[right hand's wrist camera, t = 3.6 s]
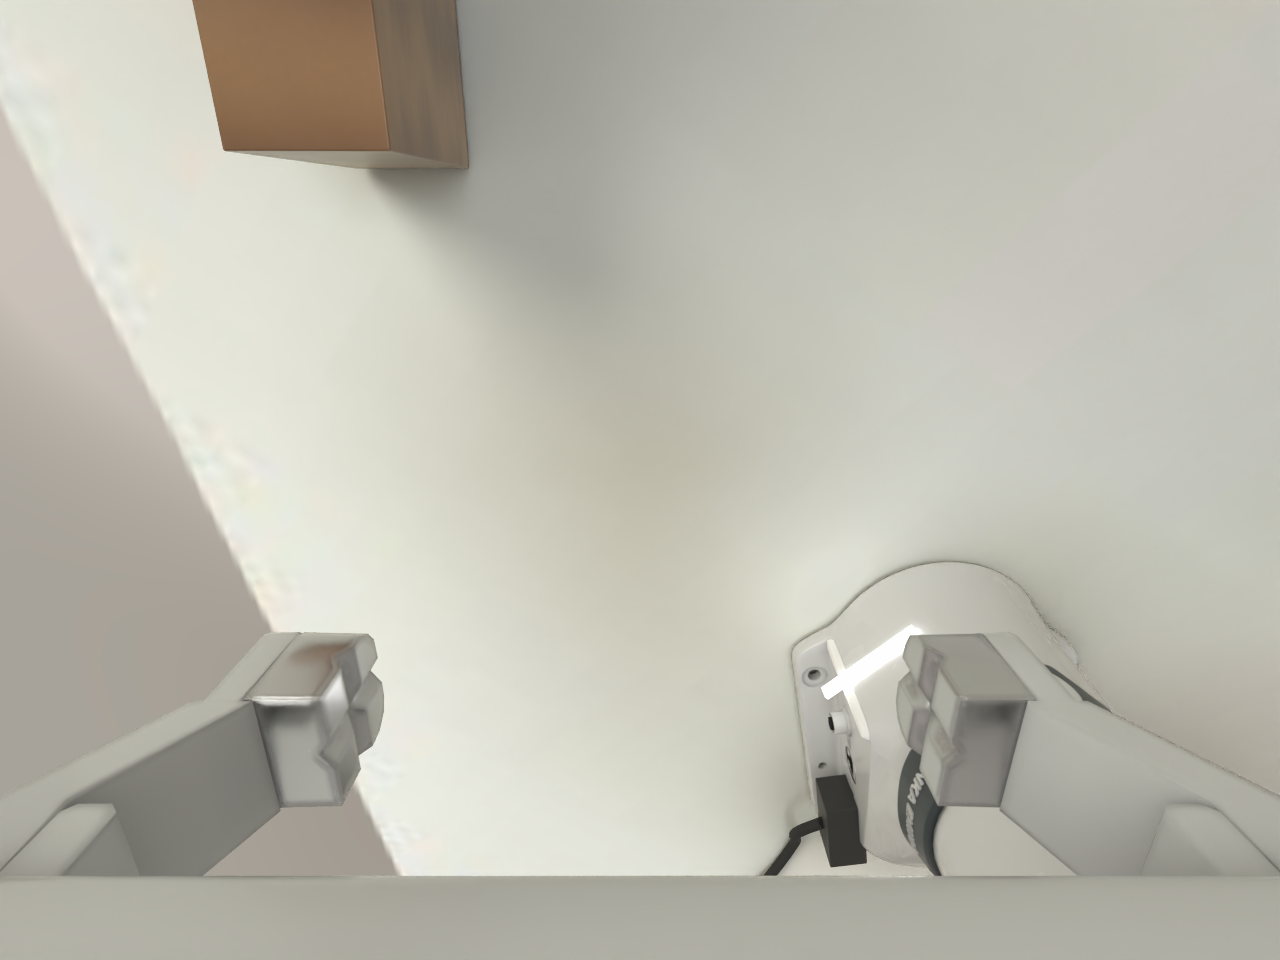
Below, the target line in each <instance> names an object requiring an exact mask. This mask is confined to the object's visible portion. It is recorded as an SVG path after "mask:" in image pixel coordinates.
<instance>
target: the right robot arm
mask: <svg viewBox="0 0 1280 960" xmlns="http://www.w3.org/2000/svg"><path fill="white" fill-rule="evenodd" d="M377 658H378V657H377V652H376V648H375V643H374V639H373V638H372V637H371V636H370V635H369V634H352V633H300V632H272V633H268V634H265V635H262V637H261V638H260V639H259V640H258V641H257V642H256V643H255V644H254V645H253V647H251V649H250V650H249V651H248V652H247V653H246V654H245V655H244V656H243V657H242V659H241V660H240V661H239V662H238V663H237V664H236V665H235V666H234V668H233V669H232V670H231V671H230V672H229V673H228V674H227V675H226V676H225V677H224V678H223V680H222V681H221V682H220V683H219V684H218V685H217V686H216V687H215V688H214V690H213V691H212V692H211V693H210V694H209V695H208V696H207V697H206V698H205V700H204V701H191V702H189V703H187V704H185V705H183V706H181V707H179V708H177V709H175V710H173V711H171V712H169V713H167V714H165V715H163V716H161V717H159V718H157V719H155V720H153V721H151V722H149V723H147V724H145V725H143V726H141V727H139V728H137V729H135V730H132V731H130V732H129V733H126V734H124V735H122V736H120V737H118V738H116V739H114V740H112V741H110V742H108V743H106V744H104V745H102V746H100V747H98V748H96V749H94V750H92V751H90V752H88V753H86V754H84V755H82V756H80V757H78V758H76V759H74V760H72V761H70V762H68V763H66V764H64V765H62V766H60V767H58V768H56V769H54V770H52V771H50V772H47V773H46V774H43V775H41V776H39V777H37V778H35V779H33V780H31V781H29V782H27V783H25V784H23V785H21V786H19V787H17V788H15V789H13V790H11V791H9V792H7V793H5V794H3V795H1V796H0V960H1280V796H1279V795H1277V794H1275V793H1273V792H1271V791H1268V790H1266V789H1264V788H1262V787H1260V786H1258V785H1256V784H1254V783H1252V782H1250V781H1248V780H1246V779H1244V778H1242V777H1240V776H1238V775H1236V774H1234V773H1232V772H1230V771H1228V770H1226V769H1224V768H1222V767H1220V766H1218V765H1216V764H1214V763H1212V762H1210V761H1208V760H1206V759H1204V758H1202V757H1200V756H1198V755H1196V754H1194V753H1192V752H1190V751H1188V750H1186V749H1184V748H1182V747H1180V746H1178V745H1176V744H1174V743H1172V742H1170V741H1168V740H1166V739H1163V738H1161V737H1159V736H1157V735H1155V734H1153V733H1151V732H1149V731H1147V730H1145V729H1143V728H1141V727H1139V726H1137V725H1135V724H1133V723H1131V722H1129V721H1127V720H1125V719H1123V718H1121V717H1119V716H1117V715H1115V714H1113V713H1112V712H1111V711H1110V709H1109V708H1108V707H1107V705H1106V704H1105V703H1104V701H1103V700H1102V699H1101V697H1100V696H1099V695H1098V693H1097V692H1096V691H1095V689H1094V688H1093V687H1092V685H1091V684H1090V683H1089V681H1088V680H1087V679H1086V677H1085V676H1084V675H1083V674H1082V672H1081V671H1080V670H1079V668H1078V667H1077V663H1078V655H1077V653H1076V652H1075V650H1074V649H1073V648H1072V646H1071V645H1070V644H1069V642H1068V641H1067V640H1066V639H1064V638H1063V637H1062V636H1061V635H1059V634H1058V633H1056V632H1055V631H1053V630H1051V629H1050V628H1048V627H1047V626H1046V625H1045V624H1044V622H1043V621H1042V619H1041V618H1040V616H1039V614H1038V612H1037V611H1036V609H1035V607H1034V605H1033V603H1032V602H1031V600H1030V599H1029V597H1028V596H1027V595H1026V593H1025V592H1024V591H1023V590H1022V589H1021V588H1020V587H1019V586H1018V585H1017V584H1016V583H1015V582H1013V581H1012V580H1011V579H1009V578H1008V577H1006V576H1004V575H1003V574H1001V573H999V572H997V571H995V570H992V569H990V568H987V567H983V566H980V565H976V564H970V563H963V562H937V563H929V564H923V565H919V566H915V567H911V568H908V569H905V570H902V571H900V572H897V573H895V574H892V575H890V576H888V577H886V578H884V579H883V580H881V581H879V582H877V583H876V584H874V585H873V586H871V587H870V588H868V589H867V590H866V591H864V592H863V593H862V594H861V595H860V596H858V597H857V598H856V599H855V600H854V601H853V602H852V603H851V604H850V605H849V606H848V607H847V608H846V610H845V611H844V612H843V613H842V614H841V615H840V616H839V617H838V618H837V619H836V620H835V621H834V622H833V623H832V624H830V625H829V626H827V627H825V628H823V629H821V630H819V631H818V632H816V633H814V634H812V635H810V636H808V637H807V638H805V639H803V640H802V641H800V642H799V643H798V644H797V645H796V646H795V647H794V649H793V651H792V666H793V673H794V680H795V688H796V695H797V703H798V710H799V717H800V725H801V732H802V740H803V747H804V754H805V762H806V769H807V777H808V784H809V791H810V798H811V801H812V804H813V807H814V809H815V811H816V813H817V814H818V815H819V817H818V818H816V819H813V820H811V821H808V822H805V823H803V824H800V825H798V826H796V827H794V828H793V829H792V830H791V832H790V833H789V834H790V838H791V839H790V841H789V842H788V844H787V845H786V847H785V848H784V850H783V851H782V853H781V854H780V855H779V857H778V858H777V859H776V861H775V862H774V863H773V864H772V866H771V867H770V868H769V869H768V871H767V872H766V873H765V874H764V875H763V876H203V875H204V874H205V873H206V872H208V871H209V870H210V869H211V868H212V867H214V866H215V865H216V864H217V863H218V862H220V861H221V860H222V859H223V858H224V857H226V856H227V855H228V854H229V853H230V852H232V851H233V850H234V849H235V848H236V847H238V846H239V845H240V844H241V843H242V842H244V841H245V840H246V839H247V838H248V837H250V836H251V835H252V834H253V833H254V832H256V831H257V830H258V829H259V828H260V827H262V826H263V825H264V824H265V823H266V822H268V821H269V820H270V819H271V818H272V817H274V816H275V815H276V814H277V813H278V812H280V808H283V807H317V806H342V805H343V803H344V801H345V799H346V797H347V795H348V793H349V791H350V789H351V787H352V785H353V783H354V781H355V779H356V777H357V775H358V773H359V772H360V770H361V768H360V762H359V757H358V756H359V755H360V754H361V753H363V752H364V751H366V750H367V749H369V748H370V747H371V746H373V744H374V741H375V739H376V737H377V735H378V733H379V731H380V726H381V722H382V717H383V713H384V693H383V687H382V682H381V681H380V680H379V679H378V678H377V677H376V676H375V675H374V674H373V673H372V672H371V671H370V670H371V668H372V667H373V665H374V663H375V661H376V660H377ZM812 670H817V671H816V672H815V673H812V674H810V673H809V672H810V671H812ZM818 830H820V833H821V837H822V840H823V843H824V847H825V850H826V854H827V857H828V860H829V864H830V866H831V867H838V866H847V865H856V864H864V863H867V857H866V850H867V851H869V852H870V853H871V854H873V855H874V856H876V857H878V858H880V859H882V860H885V861H888V862H891V863H895V864H899V865H903V866H910V867H919V868H928V869H929V870H930V871H931V872H932V873H933V875H934V876H777V875H778V873H779V872H780V871H781V870H782V868H783V867H784V866H785V864H786V863H787V862H788V860H789V859H790V858H791V856H792V855H793V853H794V852H795V850H796V849H797V847H798V846H799V844H800V842H801V837H802V836H805V835H807V834H809V833H812V832H815V831H818Z"/></svg>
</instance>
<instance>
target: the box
mask: <svg viewBox="0 0 1280 960" xmlns="http://www.w3.org/2000/svg"><path fill="white" fill-rule="evenodd" d="M193 5H194V10H195V15H196V20H197V25H198V29H199V34H200V39H201V44H202V49H203V54H204V58H205V63H206V68H207V73H208V78H209V83H210V87H211V92H212V97H213V102H214V107H215V112H216V116H217V121H218V126H219V131H220V136H221V140H222V145H223V149H224V151H229V152H237V153H244V154H252V155H259V156H267V157H274V158H282V159H289V160H297V161H305V162H312V163H320V164H327V165H335V166H342V167H350V168H442V169H468V168H469V164H468V152H467V141H466V129H465V117H464V105H463V94H462V82H461V70H460V58H459V47H458V35H457V23H456V11H455V0H193Z"/></svg>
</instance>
